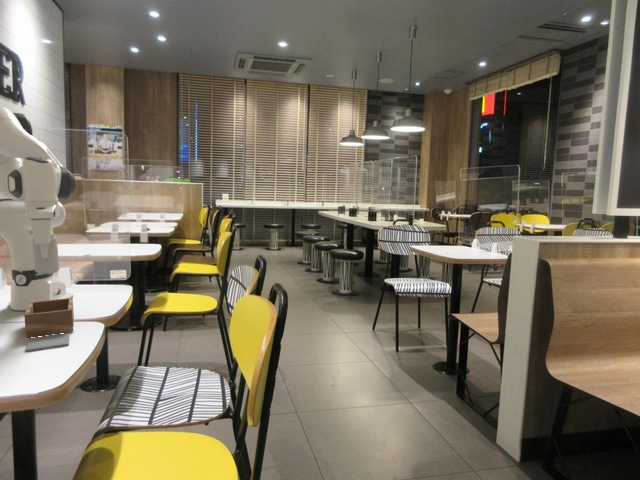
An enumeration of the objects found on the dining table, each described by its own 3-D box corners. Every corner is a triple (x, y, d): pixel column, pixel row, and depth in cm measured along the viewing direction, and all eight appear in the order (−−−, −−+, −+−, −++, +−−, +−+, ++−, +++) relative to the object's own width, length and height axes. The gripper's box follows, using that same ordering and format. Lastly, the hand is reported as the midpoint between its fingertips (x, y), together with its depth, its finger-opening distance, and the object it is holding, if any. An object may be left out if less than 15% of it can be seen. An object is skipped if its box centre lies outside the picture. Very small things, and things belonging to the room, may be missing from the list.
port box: (31, 323, 142) (29, 302, 141) (74, 317, 148) (72, 297, 147) (26, 338, 128) (24, 315, 127) (73, 332, 134) (71, 309, 133)
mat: (29, 340, 127) (29, 338, 127) (69, 334, 132) (69, 332, 132) (25, 351, 118) (25, 349, 118) (68, 345, 123) (68, 343, 123)
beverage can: (48, 275, 132) (45, 236, 131) (30, 274, 134) (26, 235, 132) (64, 270, 139) (61, 233, 137) (46, 269, 140) (43, 232, 138)
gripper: (33, 209, 141) (36, 251, 143) (26, 213, 123) (30, 262, 125) (56, 208, 144) (59, 250, 146) (52, 212, 126) (56, 260, 128)
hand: (45, 255), depth 135 cm, fingers closed on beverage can, 6 cm apart
